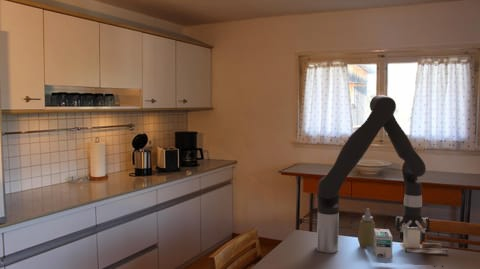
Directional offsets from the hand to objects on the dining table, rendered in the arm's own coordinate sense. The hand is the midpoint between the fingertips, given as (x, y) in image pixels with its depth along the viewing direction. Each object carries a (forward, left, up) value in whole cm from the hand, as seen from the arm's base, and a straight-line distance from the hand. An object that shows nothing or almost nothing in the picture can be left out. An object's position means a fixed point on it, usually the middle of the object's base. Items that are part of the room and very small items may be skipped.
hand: (411, 240), depth 193 cm
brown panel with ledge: (+4, -1, -5) cm, 7 cm away
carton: (0, 0, -3) cm, 3 cm away
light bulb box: (-14, -9, -5) cm, 17 cm away
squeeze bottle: (-19, +2, -5) cm, 20 cm away
